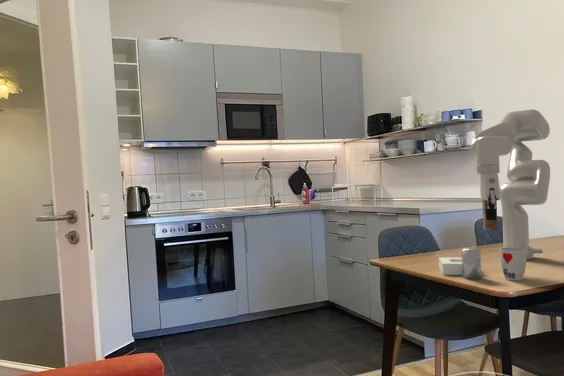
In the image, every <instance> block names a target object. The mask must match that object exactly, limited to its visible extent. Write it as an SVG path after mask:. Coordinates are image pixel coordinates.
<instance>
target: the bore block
mask: <svg viewBox="0 0 564 376" xmlns="http://www.w3.org/2000/svg"><path fill="white" fill-rule="evenodd" d="M438 269H439V270H440V272H441V275H444V276H449V275H450V276H462V257H438Z"/></svg>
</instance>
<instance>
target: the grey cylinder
mask: <svg viewBox="0 0 564 376" xmlns="http://www.w3.org/2000/svg"><path fill="white" fill-rule="evenodd" d="M481 254H482V253H481V248H478V247H462V248H461V258H462V275H461V276H462V279H465V280H471V281H474V280H475V281H476V280H477V281H478V280H481V279H482V257H481V256H482V255H481Z"/></svg>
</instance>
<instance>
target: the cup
mask: <svg viewBox="0 0 564 376" xmlns="http://www.w3.org/2000/svg"><path fill="white" fill-rule="evenodd" d="M499 258H500V264H501V269H502V273H503V275H504V279H506V280H508V281H514V282H516V281H517V282H518V281H519V282H520V281H523V278H524V275H525V272H526V267H527V260H528V259H527V250H526V249H523V248H511V247H508V248H503V247H500V248H499ZM526 259H527V260H526Z"/></svg>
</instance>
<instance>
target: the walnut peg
mask: <svg viewBox="0 0 564 376" xmlns="http://www.w3.org/2000/svg"><path fill="white" fill-rule="evenodd" d="M488 200H491V199H488ZM481 201H482V227H483V230H485V231H496V230H497V231H498V207H497V201H498V200H496V197H495V203H496V220H487V218H486V209H487V201H486V200H485V199H481ZM489 203H490V202H489Z"/></svg>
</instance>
